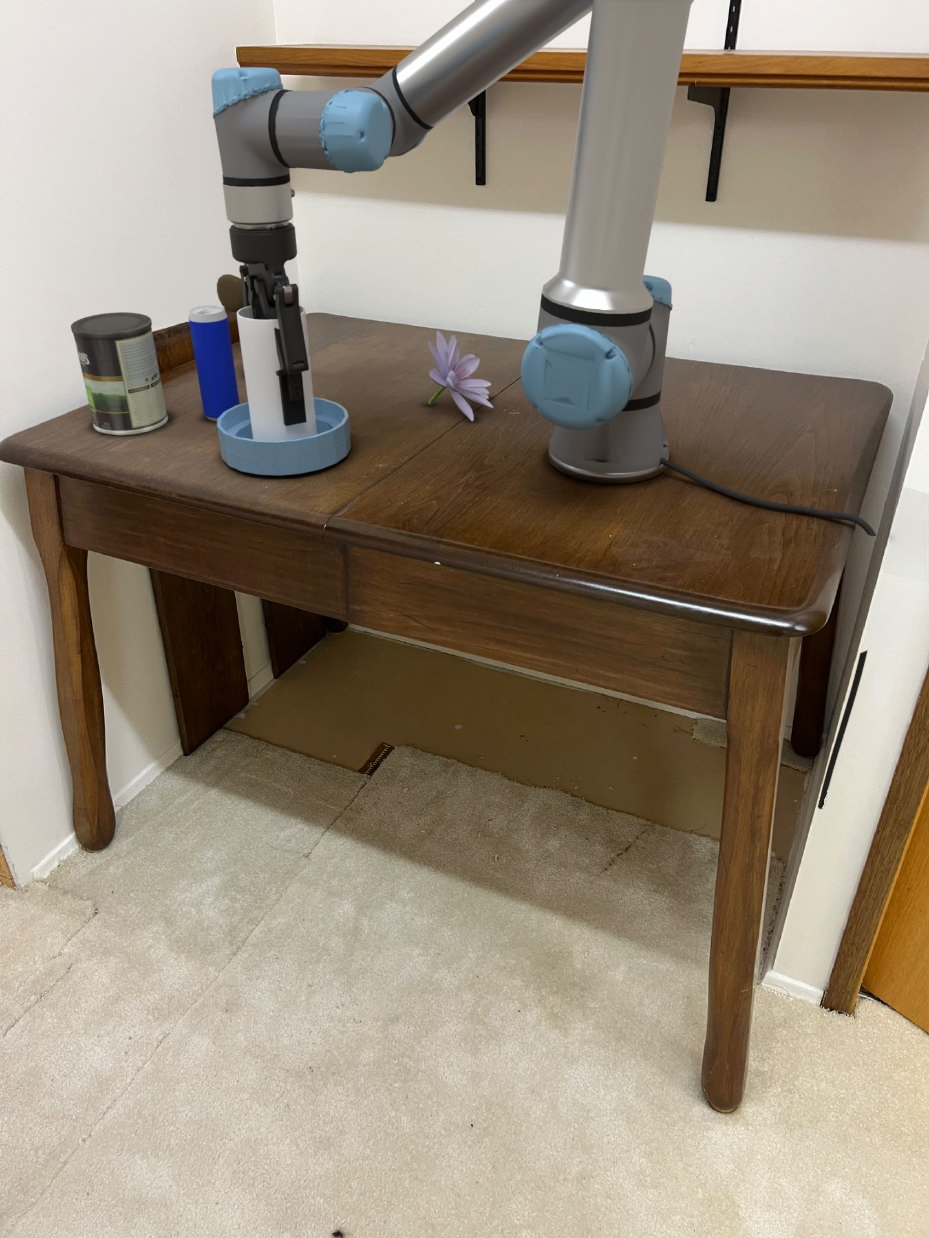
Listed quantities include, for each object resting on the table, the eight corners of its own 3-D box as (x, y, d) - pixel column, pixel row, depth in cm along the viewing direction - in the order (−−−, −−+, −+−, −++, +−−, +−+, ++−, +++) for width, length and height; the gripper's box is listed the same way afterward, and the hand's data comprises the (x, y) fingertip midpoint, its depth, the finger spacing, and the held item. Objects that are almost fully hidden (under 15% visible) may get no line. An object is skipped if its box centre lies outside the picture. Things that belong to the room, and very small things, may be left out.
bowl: (371, 463, 121) (369, 425, 118) (246, 490, 114) (241, 451, 111) (321, 422, 133) (318, 388, 130) (206, 445, 126) (200, 409, 123)
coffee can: (95, 440, 127) (71, 336, 120) (92, 415, 136) (69, 316, 128) (172, 430, 130) (154, 328, 123) (165, 406, 139) (147, 309, 131)
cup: (311, 448, 118) (299, 320, 110) (247, 448, 119) (229, 320, 110) (321, 425, 125) (310, 302, 117) (260, 424, 125) (244, 302, 117)
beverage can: (222, 407, 138) (206, 303, 130) (248, 413, 136) (234, 308, 128) (196, 418, 134) (179, 311, 126) (223, 425, 132) (207, 317, 124)
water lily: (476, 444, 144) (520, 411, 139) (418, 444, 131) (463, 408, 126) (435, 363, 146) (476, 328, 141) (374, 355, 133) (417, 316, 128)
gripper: (327, 234, 102) (342, 433, 114) (261, 207, 117) (281, 384, 129) (261, 241, 99) (284, 445, 111) (202, 212, 114) (228, 393, 126)
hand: (282, 412), depth 120 cm, fingers closed on cup, 8 cm apart
